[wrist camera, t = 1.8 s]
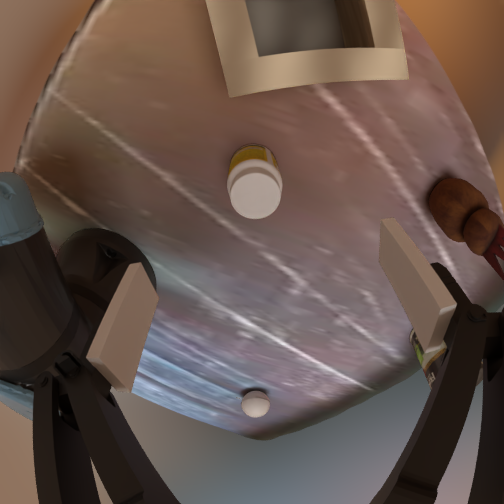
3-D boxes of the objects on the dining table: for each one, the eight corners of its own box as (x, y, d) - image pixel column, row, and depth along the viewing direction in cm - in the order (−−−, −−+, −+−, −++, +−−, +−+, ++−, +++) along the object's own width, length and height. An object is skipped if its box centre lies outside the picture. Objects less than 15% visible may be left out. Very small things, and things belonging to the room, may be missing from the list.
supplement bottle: (221, 169, 30) (212, 201, 23) (249, 134, 28) (249, 155, 21) (257, 194, 31) (260, 233, 24) (286, 162, 29) (298, 192, 22)
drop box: (236, 91, 25) (229, 98, 16) (211, -14, 19) (190, -57, 9) (355, 75, 24) (408, 79, 15) (332, -27, 17) (371, -67, 8)
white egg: (275, 392, 55) (276, 416, 50) (252, 400, 57) (253, 423, 52) (251, 378, 51) (252, 404, 47) (228, 387, 53) (227, 411, 49)
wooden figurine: (435, 225, 33) (498, 299, 21) (414, 199, 31) (484, 275, 19) (466, 190, 30) (538, 254, 18) (447, 162, 28) (530, 222, 16)
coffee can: (413, 352, 49) (436, 410, 38) (404, 326, 44) (433, 394, 33) (456, 327, 46) (485, 382, 34) (453, 298, 41) (490, 359, 30)
